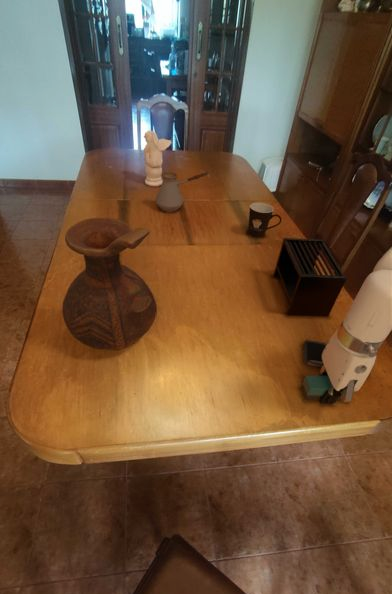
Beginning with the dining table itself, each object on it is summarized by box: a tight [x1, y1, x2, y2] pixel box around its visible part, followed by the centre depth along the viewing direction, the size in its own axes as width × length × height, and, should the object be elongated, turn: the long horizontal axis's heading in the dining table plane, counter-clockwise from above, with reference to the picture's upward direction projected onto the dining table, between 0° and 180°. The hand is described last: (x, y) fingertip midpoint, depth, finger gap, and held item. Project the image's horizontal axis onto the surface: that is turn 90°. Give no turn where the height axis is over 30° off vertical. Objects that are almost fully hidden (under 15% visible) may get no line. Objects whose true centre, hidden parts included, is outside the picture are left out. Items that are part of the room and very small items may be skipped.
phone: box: [302, 339, 327, 369], centre depth 78 cm, size 8×1×15 cm
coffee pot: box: [155, 171, 210, 213], centre depth 128 cm, size 21×12×15 cm, turn 87°
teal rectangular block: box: [301, 374, 356, 401], centre depth 70 cm, size 10×4×4 cm, turn 92°
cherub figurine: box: [143, 130, 172, 187], centre depth 143 cm, size 12×12×22 cm
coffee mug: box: [247, 202, 282, 239], centre depth 118 cm, size 12×9×10 cm
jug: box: [61, 217, 158, 351], centre depth 70 cm, size 22×22×30 cm
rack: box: [272, 237, 348, 317], centre depth 92 cm, size 12×20×13 cm, turn 2°
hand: (324, 393), depth 71 cm, fingers closed on teal rectangular block, 3 cm apart
